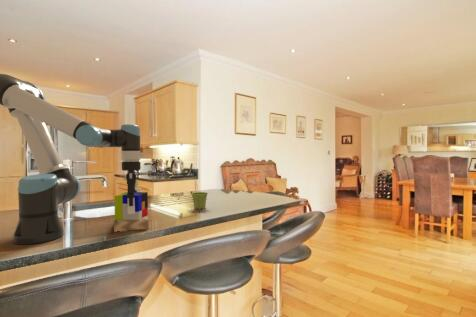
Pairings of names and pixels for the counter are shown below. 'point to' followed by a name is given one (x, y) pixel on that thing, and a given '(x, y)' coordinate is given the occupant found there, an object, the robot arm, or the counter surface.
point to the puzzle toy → (122, 206)
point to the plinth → (131, 224)
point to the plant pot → (199, 200)
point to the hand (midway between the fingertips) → (131, 210)
